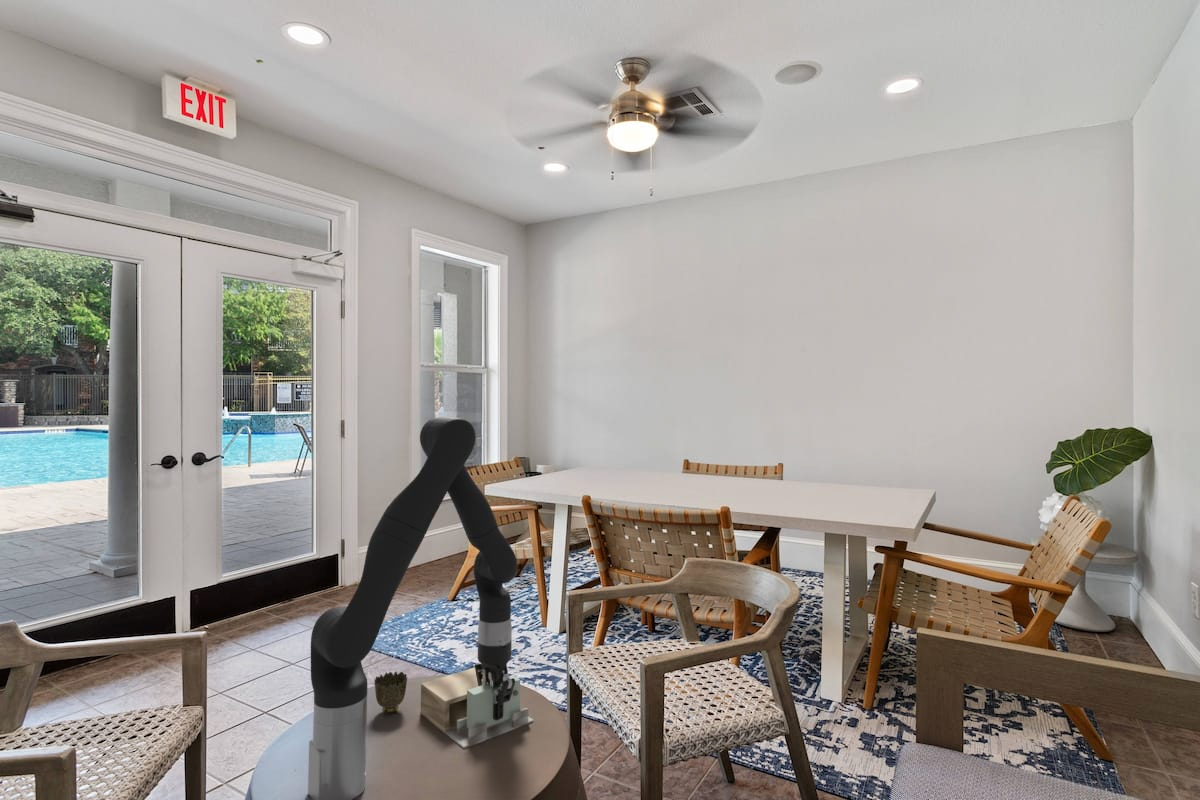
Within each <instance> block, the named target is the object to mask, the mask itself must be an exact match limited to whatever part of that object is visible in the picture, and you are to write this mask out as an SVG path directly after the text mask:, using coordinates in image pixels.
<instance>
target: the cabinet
mask: <svg viewBox="0 0 1200 800" xmlns="http://www.w3.org/2000/svg"><path fill="white" fill-rule="evenodd" d="M475 687H478V682H477V676H476V671H475V667H473V668H469V669H466V670H462V671H459V672H455V673H452V674H449V675H446V676H442V677H438V678H434V679H432V680H428V681H425V682H422V683H420V715H422V716H423V717H424V718H425V719H427V720H428V721H429V722H430V723H432V725H434V726H435V727H436V728H437V729H439V730H440V731H441V732H442V733H444V734H445V735H446V736H447V737H449V738H450V739H451V740H452V741H454V742H455V743H456V744H457V745H458V746H460V747H461V748H463V749H464V750H465V749H467V748H469V747H472V746H475V745H477V744H480V743H483V742H484V741H485V742H486V741H488V740H490V739H493V738H495V737H498V736H500V735H503V734H506V733H508V732H510V731H513V730H517V729H518V728H522V727H525V726H526V725H529V724H532V723H534V719H533V718H531V717H530V716H529V708H528V707H524V708H520V710H518V711H515V712H513V713H512V718H510V719H507V720H505V721H502V722H500V723H497V724H494V725H492V726H489V727H487V724H486V723H482V724H480V725H477V726H474V727H472V728H467V690H469V689H472V688H475Z"/></svg>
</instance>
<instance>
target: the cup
mask: <svg viewBox="0 0 1200 800" xmlns="http://www.w3.org/2000/svg"><path fill="white" fill-rule="evenodd" d="M407 682H408V676H407V673H404V672H403V671H401V672H399V673H398V672H397V671H394V673H393V672H385V674H384V675H382V674H380V676H375V678H374V690H375V692H374V693H375V698H376V702H377V704H378V705H379V706H380V707H382V708H381V710H382V712H383V714H386V715H392V714H395V713H396V712H398V710H399V708H400V707H399V705H400V704H402V702H403V701H404V698H405V696H406V691H407V690H406V689H407V685H408V684H407Z"/></svg>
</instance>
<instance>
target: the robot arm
mask: <svg viewBox="0 0 1200 800" xmlns="http://www.w3.org/2000/svg"><path fill="white" fill-rule="evenodd" d="M421 427H422V428H421V430H420V433H419V442H420V446H421V449H422V451H423V453H424V454H425V455H426V460H425V462H424V464H423V465H422V468H421V469H420V471H419V472H418V474H417V475H416V476H415V477H414V478H413V480H412V481H411V482H410V483H409V484H408V485H407V486H406V487H405V488H404V489H403V490H402V491H401V492H400V493H399V494H398V495H396V497H394V499H393V500H392V501H391V502H390V503H389V505H388V506H387V507H386V508H385V510H384V512H383V514H382V516H381V518H380V520H379V521H378V523H377V525H376V527H375V528H374V530H373V532H372V535H371V537H370V538H369V542H368V546H367V549H366V553H365V560H364V565H363V569H362V575H361V578H360V581H359V584H358V585H357V588H356V590H355V592H354V594H353V595H352V597H351V600H350V601H349V603H348V605H347V606H335V607H332V608H329V609H327V610H326V611H324V612H323V613H322V614H320V616H319V617H318V618H317V619H316V621H315V623H314V625H313V628H312V632H311V637H310V681H311V687H312V689H313V723H312V724H313V729H312V739H311V740H309V741H308V770H307V771H308V773H307V776H308V777H307V794H308V795H309V797H310V798H311V800H354V799H355V798H358V797H359V796H360V795H361V794H363V792H364V790H365V788H366V775H367V774H366V769H367V768H366V767H367V762H366V761H367V728H368V727H367V723H368V722H367V717H368V714H367V713H368V678H367V676H366V673H365V671H364V668H363V664H362V661H363V660H364V659H365V658H366V657H367V656H368V655H369V653H370V652H371V650H372V648H373V647H374V644H375V643H376V640H377V638H378V635H379V632H380V630H381V627H382V624H383V623H384V620H385V618H386V615H387V612H388V610H389V607H390V605H391V604H392V601H393V599H394V595H395V594H396V592H397V590H398V588H399V586H400V585H401V583H402V580H403V579H404V576H405V574H406V573H407V571H408V568H409V566H410V565H411V563H412V561H413V559H414V557H415V555H416V553H417V552H418V550H419V549H420V546H421V544H422V542H423V541H424V538H425V536H426V535H427V532H428V530H429V527H430V526H431V523H432V521H433V519H434V518H435V516H436V514H437V512H438V510H439V508H440V506H441V504H442V503H443V500H444V498H445V496H446V495H447V493H448V495H449V497H450V499H451V501H452V503H453V506H454V508H455V510H456V512H457V515H458V518H459V519H460V522H461V524H462V527H463V531H465V534H466V537H467V539H468V541H469V543H470V544H471V546H472V547H474V548H475V549H476V550H478V551H479V552H478V553H477V554H476V556H475V559H474V563H473V574H474V582H475V586H476V590H477V595H478V598H479V609H478V610H479V613H478V614H479V616H478V627H477V661H478V662H479V663H476V664H474V668H475V671H476V676H477V682H478V686H482V685H487V684H490V688H491V692H492V693H493V701H494V703H493V719H494V720H499V719H502V718H503V704H504V702H507V701H510V698H511V695H512V691H513V688H514V685H515V679H514V678H512V679H510V678H509V676H510V675H508V674H509V670H508V663H509V661H510V660H511V659H512V641H513V640H512V637H513V634H512V633H513V630H512V629H513V627H512V600H511V595H510V593H509V592H508V591H507V590H506V589H505V588H504V586H503V584H508V583H509V582H510V581H512V580H513V579H514V578H515V576H516V574H517V571H518V560H517V557H516V554H515V552H514V550H513V548H512V547H511V545H510V543H509V542H508V541H507V539H506V537H505V535H503V534H502V532H501V530H500V529H499V526H498V523H497V519H496V518H495V515H494V512H493V509H492V507H491V505H490V503H489V501H488V500H487V498H486V496H485V495H484V494H483V492H482V490H481V489H480V488H479V487H478V485H477V484H476V482H475V481H474V480H473V477H472V476H471V474H470V473H469V472H468V470H467V468H466V466H465V463H466V462H467V461H468V459H469V458H470V456H471V454H472V453H473V450H474V448H475V445H476V431H475V428H474V426H473V424H472V423H471V422H470V421H468V420H466V419H464V418H461V417H449V416H448V417H447V416H446V417H443V416H441V417H434V418H431V419H429V420H427V421H426V422H425V423H424V424H423V426H421ZM500 685H501V687H498V688H495V687H497V686H500ZM498 692H500V694H499V697H498ZM505 695H506V696H505Z"/></svg>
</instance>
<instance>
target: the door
mask: <svg viewBox="0 0 1200 800" xmlns="http://www.w3.org/2000/svg"><path fill="white" fill-rule="evenodd" d="M508 676H509V678H510V679H512V678H514V679H515V685H514V688H513V691H512V695H511V698H510V701H507V702H504V704H503V718H502V719H499V720H494V719H493V703H494V701H493V693H492V692H491V688H490V684H487V685H482V686H478V687H475V688H472V689H469V690H467V728H472V727H474V726H477V725H480V724H482V723H486V724H487V727H489V726H492V725H494V724H497V723H500V722H502V721H505V720H507V719H510V718H512V713H513V712H515V711H518V710H521V679H520V678H519V677H517V676H515V675H508ZM498 687H501V685H500V686H497V687H495V688H498ZM499 694H500V692H498V697H499ZM505 696H506V695H505Z"/></svg>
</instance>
